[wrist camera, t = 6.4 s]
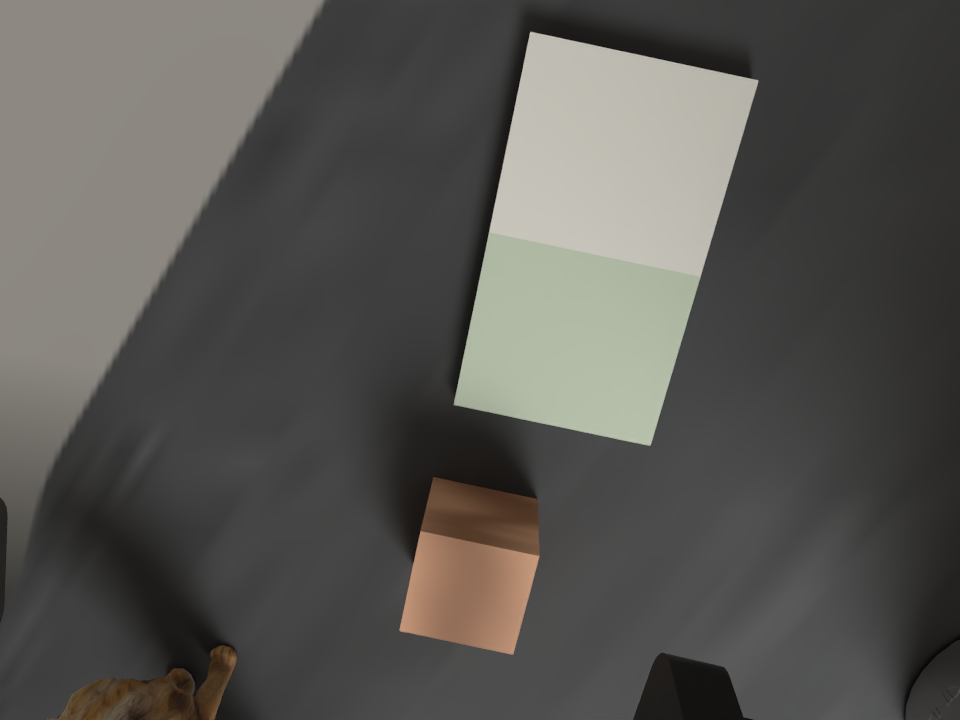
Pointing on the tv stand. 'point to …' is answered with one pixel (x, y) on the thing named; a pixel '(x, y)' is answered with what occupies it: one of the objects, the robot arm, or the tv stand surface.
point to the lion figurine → (155, 695)
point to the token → (473, 566)
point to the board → (599, 236)
